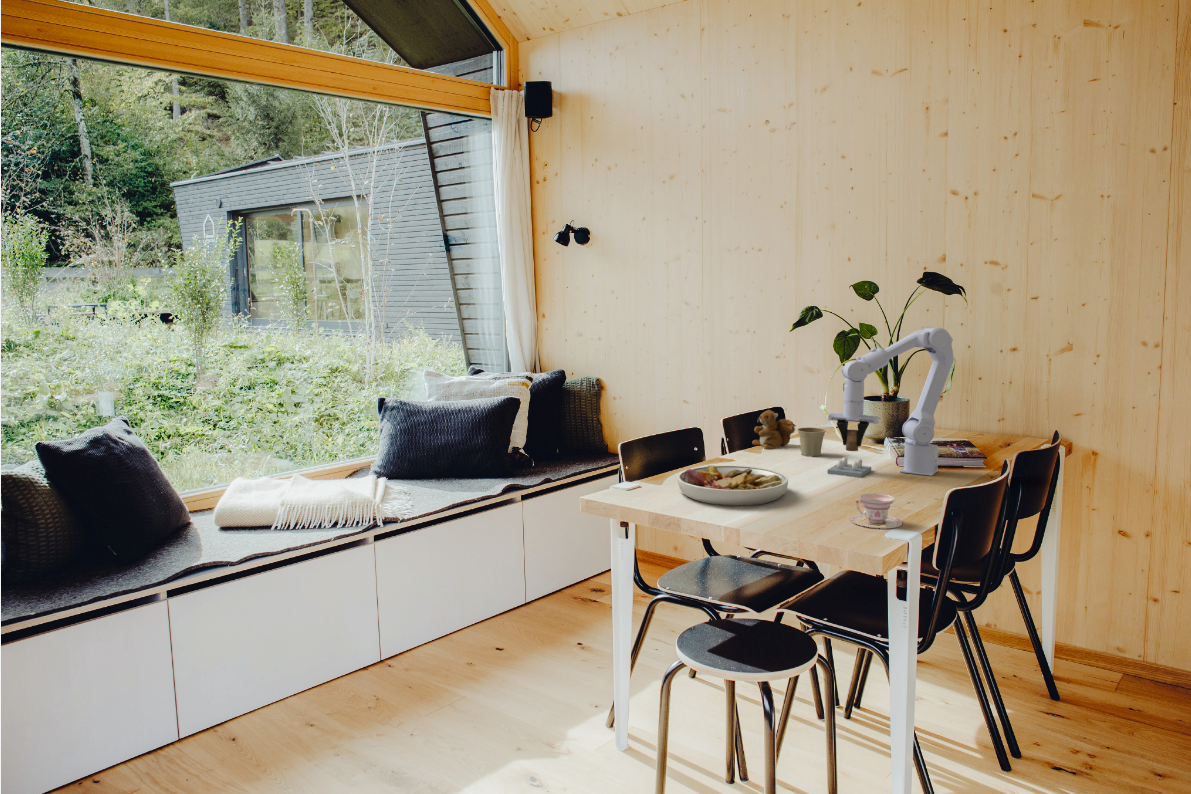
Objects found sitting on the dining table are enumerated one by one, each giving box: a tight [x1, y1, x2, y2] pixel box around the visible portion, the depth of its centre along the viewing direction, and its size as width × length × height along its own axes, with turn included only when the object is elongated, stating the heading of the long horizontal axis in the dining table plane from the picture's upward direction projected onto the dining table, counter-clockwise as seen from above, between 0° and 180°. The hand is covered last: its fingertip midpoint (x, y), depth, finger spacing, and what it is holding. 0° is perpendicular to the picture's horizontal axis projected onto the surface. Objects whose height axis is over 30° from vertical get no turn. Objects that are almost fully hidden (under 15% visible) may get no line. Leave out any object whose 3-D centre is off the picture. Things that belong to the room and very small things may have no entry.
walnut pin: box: [845, 429, 859, 452], centre depth 250 cm, size 4×4×6 cm
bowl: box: [676, 464, 789, 506], centre depth 227 cm, size 30×30×8 cm
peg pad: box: [827, 457, 872, 478], centre depth 252 cm, size 10×11×4 cm
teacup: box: [849, 493, 903, 530], centre depth 198 cm, size 12×12×6 cm
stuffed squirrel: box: [751, 409, 797, 450], centre depth 293 cm, size 10×14×13 cm
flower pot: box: [796, 426, 827, 457], centre depth 277 cm, size 9×9×9 cm
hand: (852, 445), depth 250 cm, fingers closed on walnut pin, 4 cm apart
